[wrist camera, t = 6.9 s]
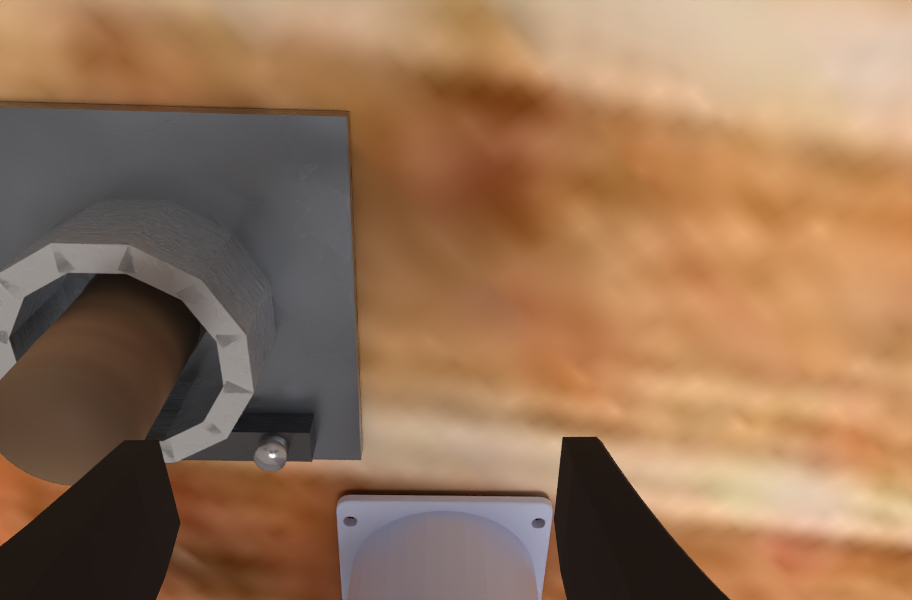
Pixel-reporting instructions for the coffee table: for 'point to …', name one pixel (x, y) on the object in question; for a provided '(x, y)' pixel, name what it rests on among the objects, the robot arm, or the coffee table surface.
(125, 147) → the cup bracket
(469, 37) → the coffee table surface
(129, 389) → the dowel
